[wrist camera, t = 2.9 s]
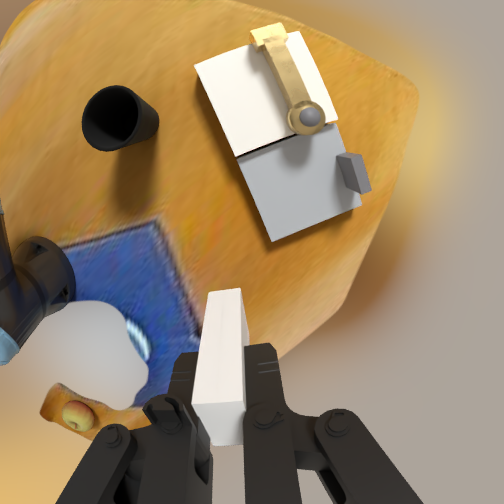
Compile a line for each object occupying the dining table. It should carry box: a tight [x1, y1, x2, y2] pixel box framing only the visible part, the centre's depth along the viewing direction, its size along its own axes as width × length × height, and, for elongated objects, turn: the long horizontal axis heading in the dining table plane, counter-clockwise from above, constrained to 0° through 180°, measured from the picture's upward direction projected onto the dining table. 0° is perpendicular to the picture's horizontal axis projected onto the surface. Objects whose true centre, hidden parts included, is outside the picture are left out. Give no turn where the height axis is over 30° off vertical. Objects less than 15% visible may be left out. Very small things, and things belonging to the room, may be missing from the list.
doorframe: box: [194, 31, 372, 242], centre depth 35 cm, size 15×28×9 cm, turn 22°
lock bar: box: [249, 23, 326, 135], centre depth 30 cm, size 4×15×3 cm, turn 22°
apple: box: [62, 401, 95, 432], centre depth 56 cm, size 10×10×8 cm
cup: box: [82, 85, 159, 152], centre depth 31 cm, size 8×8×12 cm
